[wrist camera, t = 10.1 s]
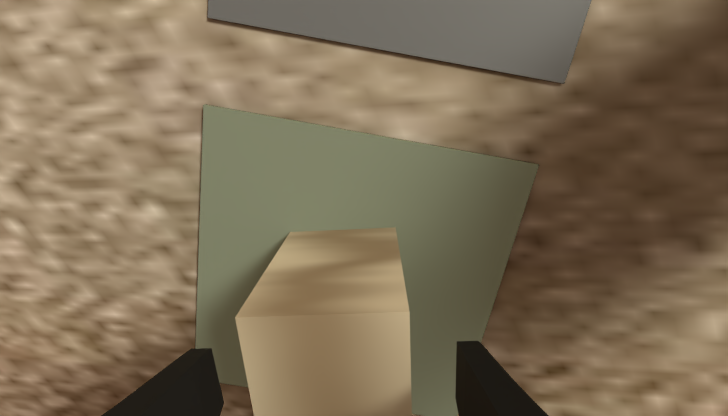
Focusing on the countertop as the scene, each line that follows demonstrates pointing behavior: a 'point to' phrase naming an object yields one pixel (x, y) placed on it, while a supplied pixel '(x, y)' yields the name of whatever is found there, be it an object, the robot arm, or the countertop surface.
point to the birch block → (329, 327)
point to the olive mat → (356, 211)
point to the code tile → (433, 28)
